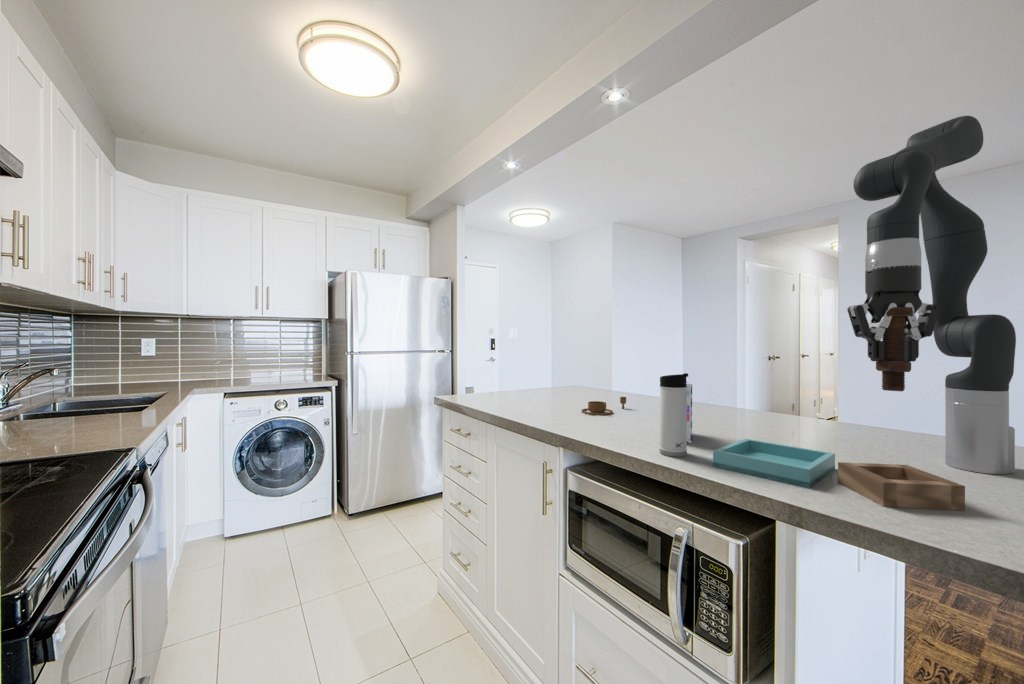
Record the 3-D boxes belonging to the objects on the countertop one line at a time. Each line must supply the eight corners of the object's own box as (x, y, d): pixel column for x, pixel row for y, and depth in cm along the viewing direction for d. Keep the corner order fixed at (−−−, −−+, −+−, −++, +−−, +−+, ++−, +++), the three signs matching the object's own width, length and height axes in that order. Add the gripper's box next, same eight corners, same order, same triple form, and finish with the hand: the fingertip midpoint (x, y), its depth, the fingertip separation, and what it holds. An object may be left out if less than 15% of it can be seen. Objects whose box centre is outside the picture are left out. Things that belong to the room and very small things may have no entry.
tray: (746, 452, 104) (746, 438, 104) (835, 469, 90) (835, 453, 90) (713, 466, 92) (713, 450, 92) (809, 488, 79) (809, 469, 79)
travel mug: (685, 458, 98) (685, 374, 98) (657, 454, 102) (657, 373, 102) (690, 452, 104) (690, 372, 104) (662, 449, 107) (662, 371, 107)
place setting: (576, 411, 169) (576, 396, 169) (624, 410, 171) (624, 396, 171) (587, 419, 152) (587, 403, 152) (640, 418, 153) (640, 402, 153)
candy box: (693, 444, 113) (693, 383, 113) (670, 443, 114) (670, 383, 114) (681, 433, 126) (681, 379, 126) (661, 432, 127) (661, 378, 127)
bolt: (907, 393, 72) (908, 306, 72) (870, 390, 76) (870, 308, 76) (916, 391, 75) (916, 308, 75) (879, 388, 79) (880, 309, 79)
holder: (906, 485, 80) (906, 464, 80) (965, 510, 68) (965, 486, 68) (837, 482, 82) (838, 462, 82) (883, 506, 70) (883, 482, 70)
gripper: (919, 269, 78) (919, 360, 78) (835, 271, 80) (836, 360, 80) (956, 262, 71) (956, 362, 71) (863, 264, 73) (863, 362, 73)
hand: (892, 360), depth 75 cm, fingers closed on bolt, 4 cm apart
